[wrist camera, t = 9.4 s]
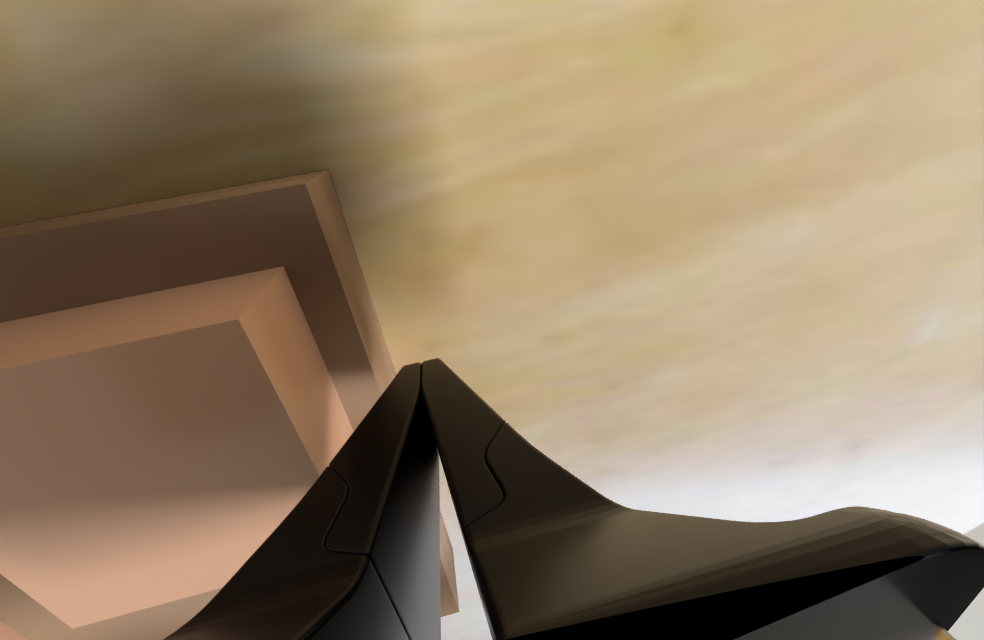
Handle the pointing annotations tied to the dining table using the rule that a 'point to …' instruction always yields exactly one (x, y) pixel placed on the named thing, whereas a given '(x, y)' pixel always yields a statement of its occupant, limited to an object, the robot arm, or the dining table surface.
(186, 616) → the board
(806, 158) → the dining table surface
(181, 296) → the tile
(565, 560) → the robot arm
